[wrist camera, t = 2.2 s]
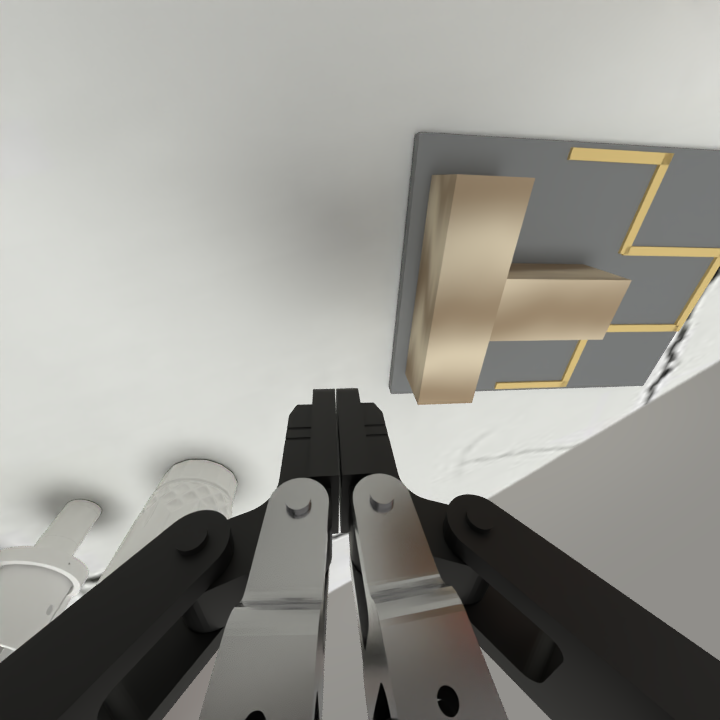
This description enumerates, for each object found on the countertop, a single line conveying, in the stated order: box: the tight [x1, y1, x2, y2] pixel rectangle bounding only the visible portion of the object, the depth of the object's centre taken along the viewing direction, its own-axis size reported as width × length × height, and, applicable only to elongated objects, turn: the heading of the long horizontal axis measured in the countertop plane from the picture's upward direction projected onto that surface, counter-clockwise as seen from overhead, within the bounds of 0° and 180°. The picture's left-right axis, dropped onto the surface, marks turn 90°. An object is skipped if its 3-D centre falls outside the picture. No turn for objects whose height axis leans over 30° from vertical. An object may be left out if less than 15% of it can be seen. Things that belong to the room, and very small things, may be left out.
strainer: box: [0, 500, 102, 662], centre depth 24 cm, size 7×7×15 cm
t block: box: [405, 174, 632, 405], centre depth 20 cm, size 14×12×4 cm
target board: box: [389, 132, 720, 394], centre depth 23 cm, size 18×24×1 cm
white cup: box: [96, 460, 237, 585], centre depth 26 cm, size 8×8×10 cm
